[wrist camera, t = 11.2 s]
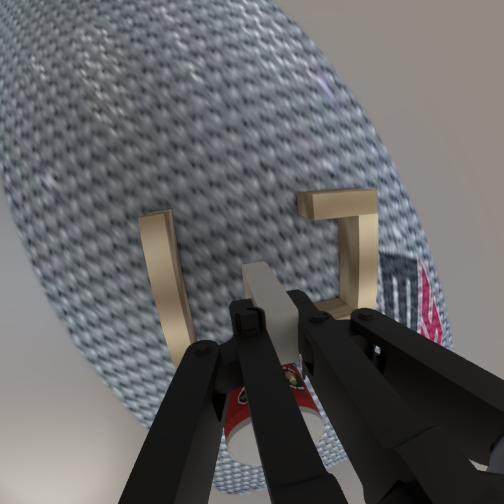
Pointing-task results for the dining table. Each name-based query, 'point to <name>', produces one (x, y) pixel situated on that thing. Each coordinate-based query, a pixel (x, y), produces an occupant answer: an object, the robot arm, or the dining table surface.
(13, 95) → the dining table surface
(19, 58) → the dining table surface
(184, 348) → the lane
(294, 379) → the canned food
